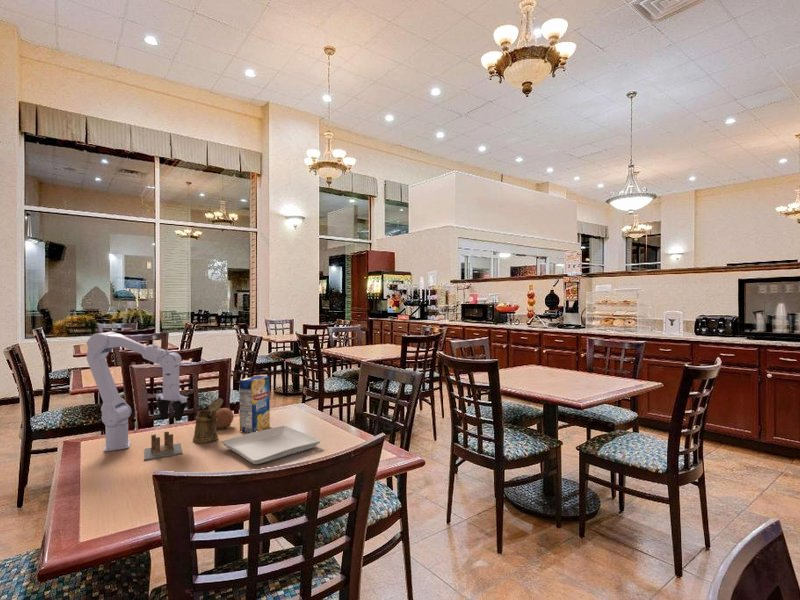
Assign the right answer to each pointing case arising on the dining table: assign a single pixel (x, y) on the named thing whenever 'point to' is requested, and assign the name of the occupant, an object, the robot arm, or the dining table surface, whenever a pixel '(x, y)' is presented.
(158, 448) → the stool
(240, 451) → the square plate
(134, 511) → the dining table surface
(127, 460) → the dining table surface
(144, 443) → the dining table surface
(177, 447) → the mat
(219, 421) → the onion
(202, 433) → the wooden mug
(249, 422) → the blue yellow food box
